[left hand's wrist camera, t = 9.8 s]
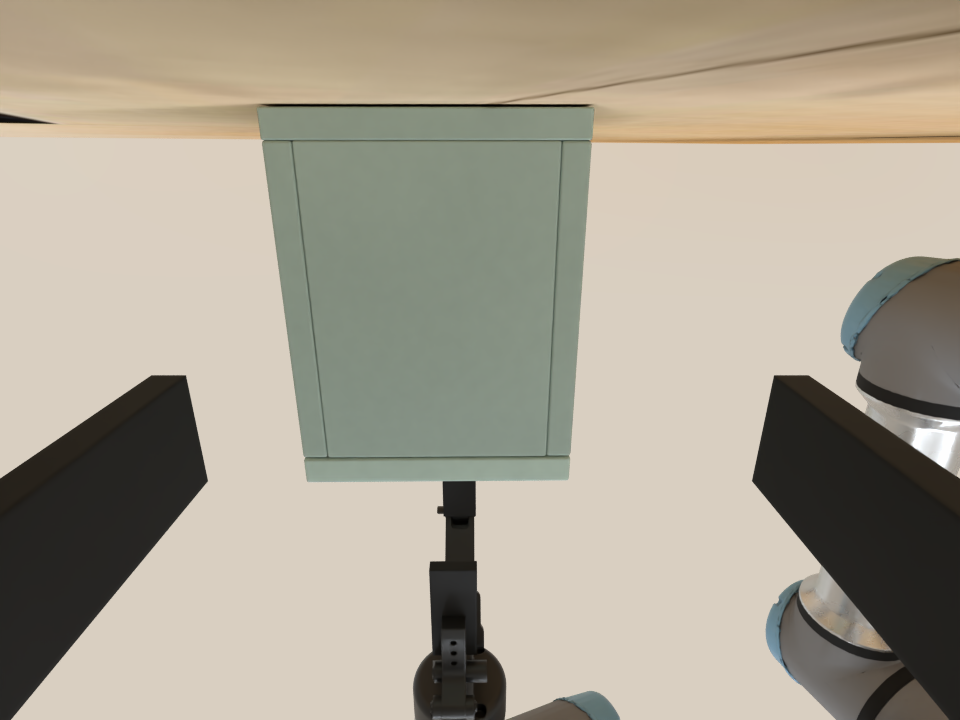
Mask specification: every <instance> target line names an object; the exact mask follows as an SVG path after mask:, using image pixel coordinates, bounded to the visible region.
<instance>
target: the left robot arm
mask: <svg viewBox="0 0 960 720" xmlns="http://www.w3.org/2000/svg"><path fill="white" fill-rule="evenodd" d="M207 482H208V479H207V474H206V470H205V465H204V460H203V455H202V451H201V446H200V441H199V436H198V431H197V427H196V422H195V417H194V412H193V407H192V403H191V398H190V393H189V388H188V383H187V379H186V376H184V375H176V376H175V375H170V376H169V375H167V376H166V375H162V376H161V375H160V376H159V375H154V376H153V375H152V376H150V377H149V378H147V379H146V380H144V381H143V382H141V383H140V384H138V385H137V386H135V387H134V388H132V389H131V390H130V391H128V392H127V393H125V394H124V395H122V396H121V397H119V398H118V399H116V400H115V401H113V402H112V403H110V404H109V405H107V406H106V407H105V408H103V409H102V410H100V411H99V412H97V413H96V414H94V415H93V416H91V417H90V418H88V419H87V420H86V421H84V422H83V423H81V424H80V425H78V426H77V427H75V428H74V429H72V430H71V431H69V432H68V433H66V434H65V435H64V436H62V437H61V438H59V439H58V440H56V441H55V442H53V443H52V444H50V445H49V446H47V447H46V448H44V449H43V450H41V451H40V452H39V453H37V454H36V455H34V456H33V457H31V458H30V459H28V460H27V461H25V462H24V463H22V464H21V465H19V466H18V467H17V468H15V469H14V470H12V471H11V472H9V473H8V474H6V475H5V476H3V477H2V478H0V720H11V719H12V718H13V716H14V715H15V714H16V713H17V712H18V710H19V709H20V708H21V707H22V706H23V704H24V703H25V702H26V701H27V700H28V698H29V697H30V696H31V695H32V694H33V692H34V691H35V690H36V689H37V687H38V686H39V685H40V684H41V683H42V681H43V680H44V679H45V678H46V677H47V675H48V674H49V673H50V672H51V670H52V669H53V668H54V667H55V666H56V664H57V663H58V662H59V661H60V660H61V658H62V657H63V656H64V655H65V654H66V652H67V651H68V650H69V649H70V647H71V646H72V645H73V644H74V643H75V641H76V640H77V639H78V638H79V637H80V635H81V634H82V633H83V632H84V631H85V629H86V628H87V627H88V626H89V624H90V623H91V622H92V621H93V620H94V618H95V617H96V616H97V615H98V614H99V612H100V611H101V610H102V609H103V607H104V606H105V605H106V604H107V603H108V601H109V600H110V599H111V598H112V597H113V595H114V594H115V593H116V592H117V590H118V589H119V588H120V587H121V586H122V584H123V583H124V582H125V581H126V580H127V578H128V577H129V576H130V575H131V574H132V572H133V571H134V570H135V569H136V568H137V566H138V565H139V564H140V563H141V562H142V560H143V559H144V558H145V557H146V555H147V554H148V553H149V552H150V551H151V549H152V548H153V547H154V546H155V545H156V543H157V542H158V541H159V540H160V538H161V537H162V536H163V535H164V534H165V532H166V531H167V530H168V529H169V527H170V526H171V525H172V524H173V523H174V522H175V520H176V519H177V518H178V517H179V515H180V514H181V513H182V512H183V511H184V509H185V508H186V507H187V506H188V505H189V503H190V502H191V501H192V500H193V498H194V497H195V496H196V495H197V494H198V492H199V491H200V490H201V489H202V488H203V486H204V485H205V484H206V483H207ZM752 482H753V483H754V484H755V485H756V486H757V488H758V489H759V490H760V491H761V492H762V494H763V495H764V496H765V497H766V499H767V500H768V501H769V502H770V503H771V505H772V506H773V507H774V508H775V509H776V511H777V512H778V513H779V514H780V515H781V517H782V518H783V519H784V520H785V522H786V523H787V524H788V525H789V526H790V528H791V529H792V530H793V531H794V532H795V534H796V535H797V536H798V537H799V538H800V540H801V541H802V542H803V543H804V545H805V546H806V547H807V548H808V549H809V551H810V552H811V553H812V554H813V555H814V557H815V558H816V559H817V560H818V562H819V563H820V564H821V565H822V566H823V568H824V569H825V570H826V571H827V572H828V574H829V575H830V576H831V577H832V578H833V580H834V581H835V582H836V583H837V585H838V586H839V587H840V588H841V589H842V591H843V592H844V593H845V594H846V595H847V597H848V598H849V599H850V600H851V601H852V603H853V604H854V605H855V606H856V608H857V609H858V610H859V611H860V612H861V614H862V615H863V616H864V617H865V618H866V620H867V621H868V622H869V623H870V624H871V626H872V627H873V628H874V629H875V631H876V632H877V633H878V634H879V635H880V637H881V638H882V639H883V640H884V641H885V643H886V644H887V645H888V646H889V647H890V649H891V650H892V651H893V652H894V654H895V655H896V656H897V657H898V658H899V660H900V661H901V662H902V663H903V664H904V666H905V667H906V668H907V669H908V671H909V672H910V673H911V674H912V675H913V677H914V678H915V679H916V680H917V681H918V683H919V684H920V685H921V686H922V687H923V689H924V690H925V691H926V692H927V694H928V695H929V696H930V697H931V698H932V700H933V701H934V702H935V703H936V704H937V706H938V707H939V708H940V709H941V710H942V712H943V713H944V714H945V715H946V717H947V718H948V719H949V720H960V478H958V477H957V476H955V475H954V474H952V473H951V472H949V471H948V470H946V469H945V468H943V467H942V466H941V465H939V464H938V463H936V462H935V461H933V460H932V459H930V458H929V457H927V456H926V455H924V454H923V453H921V452H920V451H919V450H917V449H916V448H914V447H913V446H911V445H910V444H908V443H907V442H905V441H904V440H902V439H901V438H899V437H898V436H897V435H895V434H894V433H892V432H891V431H889V430H888V429H886V428H885V427H883V426H882V425H880V424H879V423H877V422H876V421H875V420H873V419H872V418H870V417H869V416H867V415H866V414H864V413H863V412H861V411H860V410H858V409H857V408H855V407H854V406H853V405H851V404H850V403H848V402H847V401H845V400H844V399H842V398H841V397H839V396H838V395H836V394H835V393H833V392H832V391H831V390H829V389H828V388H826V387H825V386H823V385H822V384H820V383H819V382H817V381H816V380H814V379H813V378H811V377H810V376H807V375H797V376H795V375H789V376H787V375H785V376H783V375H775V376H774V379H773V383H772V388H771V393H770V398H769V403H768V407H767V412H766V417H765V422H764V427H763V431H762V436H761V441H760V446H759V451H758V455H757V460H756V465H755V470H754V474H753V479H752Z"/></svg>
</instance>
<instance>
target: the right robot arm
mask: <svg viewBox="0 0 960 720" xmlns="http://www.w3.org/2000/svg"><path fill="white" fill-rule="evenodd" d="M841 342H842V344H843V345H844V346H843V348H844V350H845V351H846V353H847V354H849V355H850V356H851V357H852V358H854V359H855V360H857V361H861V365H860V369H859V372H858V376H857V380H856V388H857V390H858V391H859V392H860V393H861V395H862V396H863V397H864V398H865V399H866V401H867V402H868V405H867V409H866V412H865V414H866V415H867V416H869V417H870V418H872V419H873V420H875V421H876V422H877V423H879V424H880V425H882V426H883V427H885V428H886V429H888V430H889V431H891V432H892V433H894V434H895V435H897V436H898V437H899V438H901V439H902V440H904V441H905V442H907V443H908V444H910V445H911V446H913V447H914V448H916V449H917V450H919V451H920V452H921V453H923V454H924V455H926V456H927V457H929V458H930V459H932V460H933V461H935V462H936V463H938V464H939V465H941V466H942V467H943V468H945V469H946V470H948V471H949V472H951V473H952V474H954V475H955V476H957V473H958V471H959V468H960V258H955V259H941V258H931V257H909V258H905V259H902V260H899V261H897V262H894V263H892V264H891V265H889V266H887V267H885V268H884V269H882V270H881V271H880V272H878V273H877V274H876V275H875V276H874V277H873V278H872V279H871V280H870V281H868V282H867V283H866V284H865V285H864V286H863V288H862V289H861V290H860V291H859V292H858V294H857V295H856V297H855V298H854V300H853V301H852V303H851V305H850V307H849V308H848V311H847V313H846V315H845V318H844V320H843V324H842V328H841ZM437 513H438V514H444V516H445V517H446V556H445V557H446V558H445V561H439V562H438V561H437V562H430V569H429V576H430V600H431V624H432V648H433V651H432V652H431V653H430V654H429V655H428V656H427V657H426V658H425V659H424V660H423V661H422V662H421V664H420V666H419V667H418V669H417V671H416V674H415V678H414V683H413V695H414V711H415V720H505V711H506V678H505V674H504V671H503V668H502V666H501V664H500V663H499V661H498V660H497V658H496V657H495V656H494V655H493V654H492V653H491V652H489V651H488V650H486V649H485V648H484V630H483V627H482V625H481V612H480V594H479V592H478V591H477V561H474V517H475V516H476V481H443V506H438V508H437ZM766 640H767V644H768V647H769V649H770V651H771V653H772V654H773V656H774V657H775V658H776V660H777V661H778V662H779V663H780V664H781V665H782V666H783V667H784V668H785V670H786V672H787V673H788V674H789V676H790V677H791V678H792V679H793V680H794V681H796V682H797V683H798V684H800V685H802V686H803V687H804V688H805V689H806V690H807V691H808V692H809V693H810V694H811V695H812V696H813V697H814V698H815V699H816V700H817V701H818V702H819V703H820V704H821V705H822V706H823V707H824V708H825V709H826V710H827V711H828V712H829V713H830V714H831V715H832V716H833V717H834V718H835V719H836V720H949V719H948V718H947V717H946V715H945V714H944V713H943V712H942V710H941V709H940V708H939V707H938V706H937V704H936V703H935V702H934V701H933V700H932V698H931V697H930V696H929V695H928V694H927V692H926V691H925V690H924V689H923V687H922V686H921V685H920V684H919V683H918V681H917V680H916V679H915V678H914V677H913V675H912V674H911V673H910V672H909V671H908V669H907V668H906V667H905V666H904V664H903V663H902V662H901V661H900V660H899V658H898V657H897V656H896V655H895V654H894V652H893V651H892V650H891V649H890V647H889V646H888V645H887V644H886V643H885V641H884V640H883V639H882V638H881V637H880V635H879V634H878V633H877V632H876V631H875V629H874V628H873V627H872V626H871V624H870V623H869V622H868V621H867V620H866V618H865V617H864V616H863V615H862V614H861V612H860V611H859V610H858V609H857V608H856V606H855V605H854V604H853V603H852V601H851V600H850V599H849V598H848V597H847V595H846V594H845V593H844V592H843V591H842V589H841V588H840V587H839V586H838V585H837V583H836V582H835V581H834V580H833V578H832V577H831V576H830V575H829V574H828V572H827V571H826V570H825V569H824V568H823V566H822V565H821V569H820V572H819V573H818V574H814V575H811V576H809V577H807V578H805V579H804V580H800V581H798V582H795V583H793V584H792V585H790V586H789V587H788V588H786V589H785V590H784V591H783V592H782V593H781V595H780V596H779V601H778V603H777V604H773V606H772V608H771V610H770V613H769V616H768V619H767V624H766ZM507 720H620V718H619V715H618V714H617V712H616V710H615V709H614V707H613V706H612V704H611V703H610V702H609V701H608V700H607V699H606V698H605V697H604V696H603V695H601V694H600V693H597V692H594V691H587V692H584V693H581V694H577V695H574V696H570V697H567V698H565V697H563V698H558V699H556V700H554V701H553V702H551V703H549V704H546V705H543V706H541V707H538V708H536V709H533V710H531V711H528V712H525V713H523V714H520V715H517V716H515V717H512V718H510V719H507Z"/></svg>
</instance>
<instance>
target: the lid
mask: <svg viewBox="0 0 960 720" xmlns="http://www.w3.org/2000/svg"><path fill="white" fill-rule="evenodd" d="M304 462H305V470H306V477H307V481H308V482H388V481H389V482H390V481H522V480H523V481H525V480H568V478H569V466H570V457H569V455H547V454H546V455H545V456H441V457H328V456H327V457H306V458H305V460H304Z"/></svg>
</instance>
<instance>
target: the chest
mask: <svg viewBox="0 0 960 720" xmlns="http://www.w3.org/2000/svg"><path fill="white" fill-rule="evenodd" d="M257 113H258V121H259V128H260V136H261V139H262V140H264V141H263V142H262V146H263V154H264V161H265V169H266V176H267V184H268V192H269V199H270V207H271V214H272V222H273V229H274V237H275V244H276V252H277V259H278V267H279V274H280V282H281V289H282V297H283V304H284V312H285V319H286V327H287V334H288V342H289V349H290V357H291V364H292V372H293V379H294V387H295V394H296V402H297V410H298V417H299V425H300V432H301V440H302V447H303V454H304V457H327V456H328V457H441V456H545V455H546V454H547V455H569V454H570V451H571V436H572V421H573V407H574V392H575V378H576V363H577V349H578V334H579V320H580V305H581V290H582V276H583V261H584V246H585V232H586V217H587V203H588V188H589V173H590V159H591V141H589V140H592V135H593V120H594V108H593V107H257Z"/></svg>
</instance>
